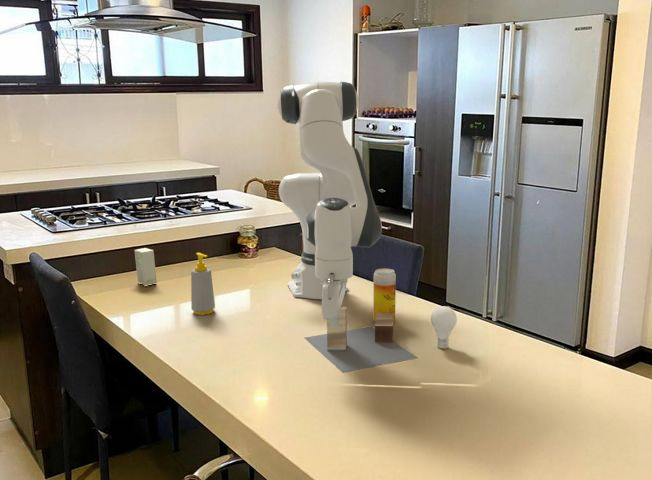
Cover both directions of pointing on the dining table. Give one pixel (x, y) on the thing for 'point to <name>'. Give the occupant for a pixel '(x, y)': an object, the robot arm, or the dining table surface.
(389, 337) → the walnut block
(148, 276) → the skincare box
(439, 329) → the lightbulb
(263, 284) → the dining table surface
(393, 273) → the beer can
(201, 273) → the soap bottle
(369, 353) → the rubber mat
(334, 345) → the maple block
